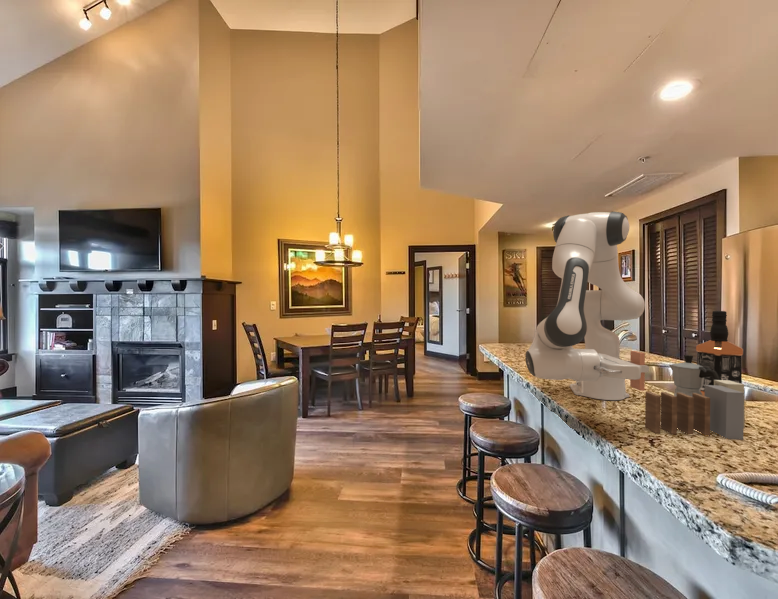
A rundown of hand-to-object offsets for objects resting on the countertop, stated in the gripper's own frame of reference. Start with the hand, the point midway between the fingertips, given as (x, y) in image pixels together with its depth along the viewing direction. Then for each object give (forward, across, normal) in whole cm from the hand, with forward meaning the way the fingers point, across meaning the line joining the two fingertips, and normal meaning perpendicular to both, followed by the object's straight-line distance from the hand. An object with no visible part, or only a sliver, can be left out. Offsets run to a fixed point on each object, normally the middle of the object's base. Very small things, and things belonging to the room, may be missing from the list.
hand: (641, 366), depth 103 cm
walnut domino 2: (+7, 0, +17) cm, 19 cm away
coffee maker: (+25, +20, +17) cm, 37 cm away
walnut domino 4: (+15, 0, +17) cm, 23 cm away
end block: (+21, 0, +17) cm, 27 cm away
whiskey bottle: (+40, +31, +17) cm, 54 cm away
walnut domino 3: (+11, 0, +17) cm, 21 cm away
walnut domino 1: (+3, 0, +17) cm, 18 cm away
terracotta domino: (-1, 0, +6) cm, 6 cm away
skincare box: (+28, +9, +18) cm, 34 cm away
